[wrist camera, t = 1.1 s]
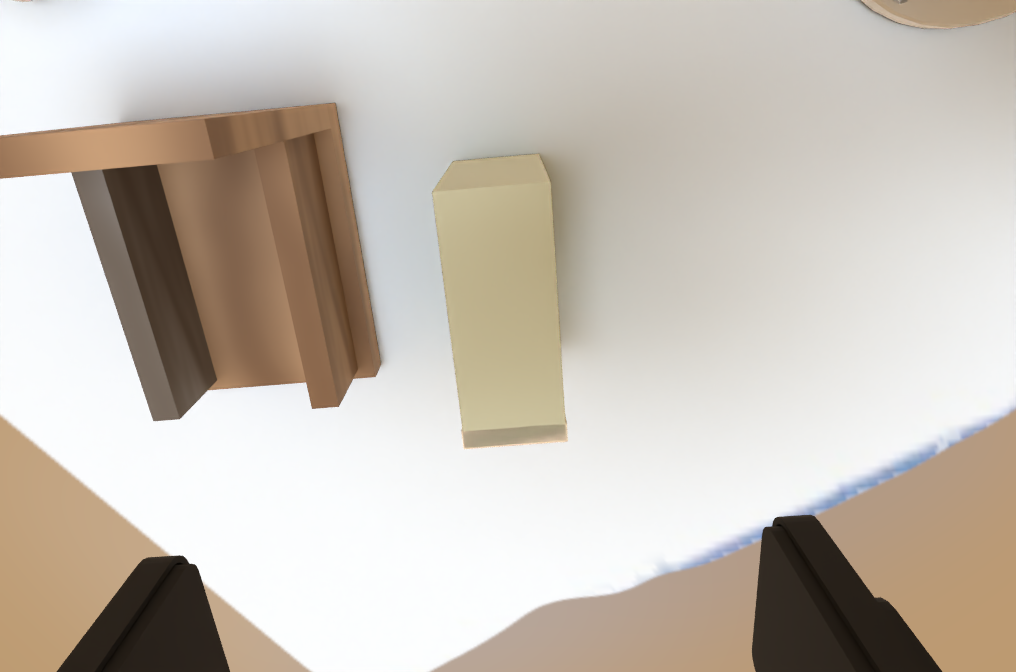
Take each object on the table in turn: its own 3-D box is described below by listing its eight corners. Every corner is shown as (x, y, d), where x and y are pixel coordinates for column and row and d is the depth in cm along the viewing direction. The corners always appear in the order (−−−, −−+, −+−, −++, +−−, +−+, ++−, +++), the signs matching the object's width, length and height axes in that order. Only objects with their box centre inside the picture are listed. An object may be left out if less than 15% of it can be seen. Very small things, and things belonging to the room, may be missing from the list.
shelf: (335, 102, 29) (204, 119, 16) (380, 364, 34) (306, 532, 21) (118, 122, 29) (-173, 153, 17) (194, 379, 34) (12, 553, 21)
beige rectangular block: (539, 153, 30) (552, 181, 21) (552, 351, 33) (567, 441, 25) (452, 161, 30) (430, 192, 22) (474, 357, 34) (463, 449, 25)
